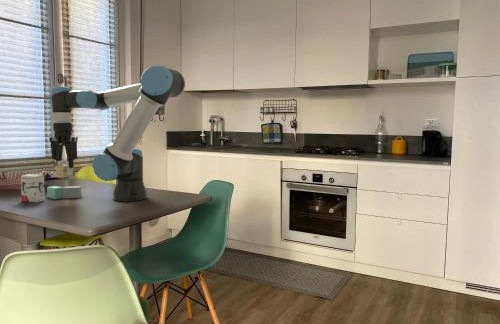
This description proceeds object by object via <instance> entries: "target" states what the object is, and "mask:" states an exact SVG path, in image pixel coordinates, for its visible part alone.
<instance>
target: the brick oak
mask: <svg viewBox="0 0 500 324" xmlns="http://www.w3.org/2000/svg"><path fill="white" fill-rule="evenodd" d="M73 166H74V167H73V168H72V169H73V175H71V176H67V166H66V164H64V165H60V166H57V165H55V166H54V167H55V177H56V178H69V177H74V176H76V171H75V167H76V166H75V164H73Z"/></svg>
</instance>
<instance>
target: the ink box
mask: <svg viewBox="0 0 500 324" xmlns="http://www.w3.org/2000/svg"><path fill="white" fill-rule="evenodd" d="M20 189H21V191H20V192H21V202H27V203H39V202H40V203H41V202H44V201H45V200H46V199H45V196H46V195H45V175H44V174H36V173H28V174H24V175H23V174H22V175H20Z"/></svg>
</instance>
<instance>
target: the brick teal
mask: <svg viewBox="0 0 500 324" xmlns="http://www.w3.org/2000/svg"><path fill="white" fill-rule="evenodd" d="M63 188H64V187H63V186H57V185H51V186H47V187H46V191H47V192H46V193H47V198H49V199H52V200H53V199H55V200H58V199H64V198H63Z"/></svg>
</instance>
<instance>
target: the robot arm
mask: <svg viewBox="0 0 500 324" xmlns="http://www.w3.org/2000/svg"><path fill="white" fill-rule="evenodd" d="M140 82H141V83H135V84H131V85H125V86H123V87H122V86H121V87H118V88H113V89H109V90H105V91H99V92H95V91H93V90H90V89H89V90H88V89H82V90H71V88H70V87H69V86H63V85H62V86H53V87H52V88H51V89H50V92H51V94H50V95H51V96H50V98H51V109H52V112H51V113H52V122H54V123H53V124H52V127H53V128H52V129H53V132H54V136H52V137H51V136H49V138H48V140H49V142H50V151H51V159H52V160H54V161H55V163H56V166H60V165H66V166H67V176H70V177H72V176H71V175H73V169H72V168H73V167H75V165H74V161H75V160H77V159H78V140H79V138H78V136H74V135H73V133H72V131H73V123H72V120H73V119H72V118H73V117H72V109H87V110H88V109H89V110H101V111H103V110H108V109H110V108H112V107H117V106H118V107H119V106H123V105H128V104H131V103H135V105H134V106H133V108H132V110H131V111H130V113H129V115H128V116H127V119H126V120H125V122H124V123H123V126H122V127H121V129H120V131H119V132H118V134H117V135H116V137H115V139H114V141H113V142H112V143H109V144H107V145H106V147H105V148H104V150H103V152H102V153H98V154H97V155H96V156H95V157H94V158H93V160H92V170H93V173H94V175H95V176H96V177H97V178H98V179H100V180H101V181H104V182H111V181H112V182H113V181H115V180H116V185H115V188H114V191H113V195H112V196H113V197H112V200H114V201H117V202H137V201H142V200H145V199H147V198H148V192H147V189H146V186H145V183H144V167H143V165H144V157H143V152H142V150H141V149H138V148H136V146H137V144H138V143H139V141H140V140H141V138H142V137H143V135H144V133H145V132H146V130H147V128H148V127H149V125H150V124H151V122H152V120H153V118H154V116H155V115H156V113H157V112H158V110H159V108H160V107H163V106H166V104H167V102H168V101H169V98H171V99H172V98H176V97H179V96H180V95H181V94H182V93H183V92H184V90H185V88H186V80H185V77H184V76H183V74H182V73H180V72H179V71H177V70H175V69H172V68H168V67H166V66H164V65H151V66H149V67H147V68H145V70H144V71H143V72H142V74H141V77H140ZM64 149H65V153H66V157H67V158H66V162H65V163H66V164H64V159H63V150H64ZM73 165H74V166H73Z"/></svg>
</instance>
